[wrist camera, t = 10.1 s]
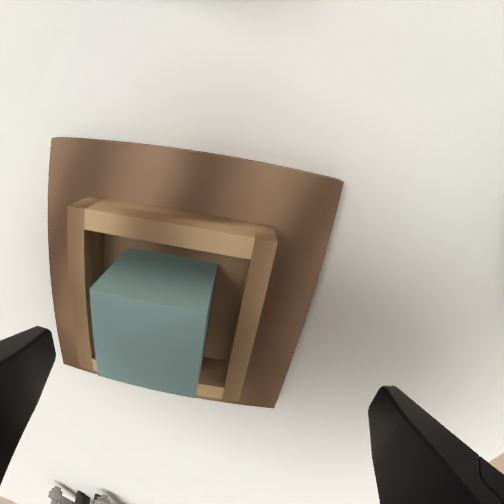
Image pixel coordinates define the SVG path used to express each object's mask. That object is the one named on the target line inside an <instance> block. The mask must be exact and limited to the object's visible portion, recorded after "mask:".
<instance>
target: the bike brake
mask: <svg viewBox="0 0 504 504" xmlns="http://www.w3.org/2000/svg"><path fill="white" fill-rule="evenodd" d="M48 497H50V498H51V499H52V501H51V504H58V502H59V504H89V502H90V501H89V498H88V497H87V496H86V495H84V494H83V493H81V492H79V491H78V492H77V494H76V499H75V502H73V501H71V500H69V499H67V498H65V497H64V496H62V491H61V488H59V487H57V486H55V488H52V491H49V496H48ZM93 504H110V500H109V499H108V496H106V495H101V497H100V496H98V495H97V494H95V497H94V502H93Z"/></svg>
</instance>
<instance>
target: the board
mask: <svg viewBox="0 0 504 504" xmlns="http://www.w3.org/2000/svg"><path fill="white" fill-rule="evenodd" d="M343 183H344V182H343V181H341V180H339V179H336V178H332V177H328V176H324V175H319V174H315V173H311V172H306V171H302V170H297V169H293V168H288V167H283V166H279V165H274V164H269V163H264V162H259V161H253V160H248V159H242V158H237V157H231V156H225V155H219V154H213V153H207V152H201V151H194V150H187V149H180V148H173V147H165V146H157V145H149V144H140V143H131V142H121V141H110V140H98V139H85V138H69V137H56V138H52V141H51V152H50V165H49V183H48V243H49V261H50V275H51V285H52V295H53V303H54V311H55V318H56V324H57V331H58V337H59V342H60V348H61V353H62V358H63V363H64V364H66V365H69V366H72V367H75V368H78V369H81V370H85V371H88V372H91V373H94V374H98V370H97V363H96V356H95V347H94V339H93V329H92V318H91V304H90V288H91V287H92V286H93V284H94V283H95V282H96V281H97V280H98V279H99V278H100V277H101V276H102V275H103V274H104V273H105V271H106V270H107V269H108V268H109V267H110V266H111V265H112V264H113V263H114V262H115V261H116V260H117V259H118V258H119V257H120V256H121V255H122V254H123V253H124V252H125V251H126V250H127V249H128V248H129V247H130V248H135V249H141V250H146V251H152V252H157V253H163V254H168V255H174V256H179V257H185V258H190V259H196V260H201V261H207V262H213V263H218V267H217V273H216V279H215V286H214V292H213V298H212V305H211V312H210V318H209V325H208V332H207V339H206V344H205V349H204V355H203V360H202V365H201V371H200V376H199V382H198V387H197V393H196V398H201V399H207V400H213V401H220V402H226V403H233V404H241V405H249V406H258V407H267V408H274V407H275V404H276V402H277V399H278V396H279V393H280V391H281V388H282V385H283V383H284V380H285V377H286V374H287V371H288V368H289V366H290V363H291V360H292V357H293V354H294V351H295V348H296V345H297V342H298V339H299V336H300V333H301V330H302V327H303V324H304V321H305V318H306V315H307V312H308V308H309V305H310V302H311V299H312V296H313V292H314V289H315V286H316V282H317V279H318V276H319V272H320V269H321V265H322V262H323V259H324V255H325V251H326V248H327V244H328V241H329V237H330V233H331V230H332V226H333V222H334V218H335V215H336V211H337V207H338V203H339V199H340V195H341V191H342V187H343Z"/></svg>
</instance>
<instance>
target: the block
mask: <svg viewBox="0 0 504 504" xmlns="http://www.w3.org/2000/svg"><path fill="white" fill-rule="evenodd" d="M217 267H218V263H213V262H207V261H201V260H196V259H190V258H185V257H179V256H174V255H168V254H163V253H157V252H152V251H146V250H141V249H135V248H130V247H129V248H128V249H127V250H126V251H125V252H124V253H123V254H122V255H121V256H120V257H119V258H118V259H117V260H116V261H115V262H114V263H113V264H112V265H111V266H110V267H109V268H108V269H107V270H106V271H105V273H104V274H103V275H102V276H101V277H100V278H99V279H98V280H97V281H96V282H95V283H94V284H93V286H92V287H91V288H90V304H91V318H92V329H93V339H94V347H95V356H96V363H97V370H98V376H102V377H105V378H109V379H113V380H116V381H120V382H124V383H128V384H132V385H136V386H140V387H144V388H148V389H153V390H157V391H162V392H166V393H171V394H176V395H181V396H187V397H192V398H196V393H197V387H198V382H199V376H200V371H201V365H202V360H203V355H204V349H205V344H206V339H207V332H208V325H209V318H210V312H211V305H212V298H213V292H214V286H215V279H216V273H217Z"/></svg>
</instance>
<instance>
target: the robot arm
mask: <svg viewBox="0 0 504 504" xmlns="http://www.w3.org/2000/svg"><path fill="white" fill-rule="evenodd" d="M55 358H56V352H55V347H54V343H53V338H52V333H51V331H50V330H49V329H46V328H43V327H40V326H36V327H33V328H31V329H28V330H26V331H23V332H21V333H18V334H16V335H13V336H11V337H8V338H6V339H4V340H1V341H0V485H1V482H2V480H3V477H4V475H5V472H6V470H7V468H8V465H9V463H10V461H11V458H12V456H13V454H14V451H15V449H16V447H17V445H18V443H19V440H20V438H21V436H22V434H23V432H24V430H25V428H26V426H27V424H28V422H29V420H30V418H31V415H32V414H33V412H34V410H35V407H36V405H37V403H38V401H39V399H40V396H41V394H42V391H43V388H44V386H45V383H46V381H47V378H48V376H49V374H50V371H51V369H52V366H53V364H54V362H55ZM368 416H369V427H370V438H371V451H372V460H373V466H374V471H375V476H376V482H377V488H378V493H379V499H380V504H504V474H502V473H501V472H499V471H498V470H497V469H496V468H494V467H493V466H491V465H490V464H489V463H488V462H487V461H486V460H484V459H483V458H482V457H479V455H478V454H477V453H476V452H474V451H473V450H472V449H471V448H470V447H468V446H467V445H466V444H465V443H463V442H462V441H461V440H460V439H459V438H457V437H456V436H455V435H454V434H453V433H451V432H450V431H449V430H448V429H447V428H445V427H444V426H443V425H442V424H440V423H439V422H438V421H437V420H436V419H434V418H433V417H432V416H431V415H430V414H428V413H427V412H426V411H425V410H424V409H422V408H421V407H420V406H419V405H418V404H416V403H415V402H414V401H413V400H412V399H410V398H409V397H408V396H407V395H406V394H404V393H403V392H402V391H401V390H400V389H398V388H397V387H396V386H382V387H381V388H380V389H379V390H378V392H377V394H376V396H375V397H374V399H373V401H372V402H371V404H370V406H369V410H368Z"/></svg>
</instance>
